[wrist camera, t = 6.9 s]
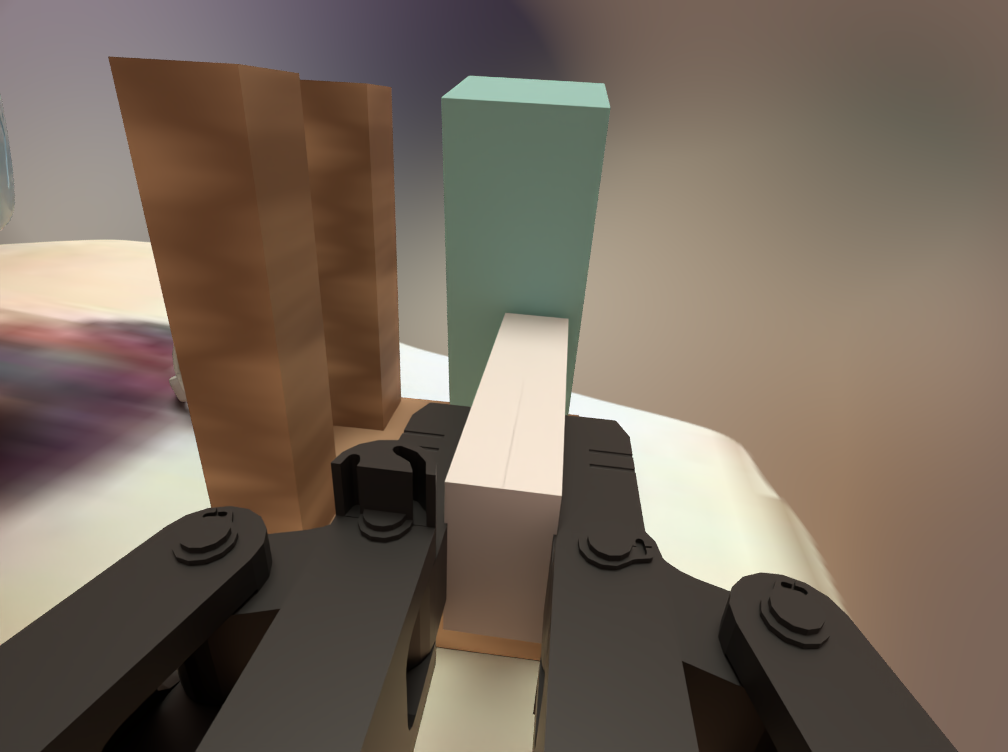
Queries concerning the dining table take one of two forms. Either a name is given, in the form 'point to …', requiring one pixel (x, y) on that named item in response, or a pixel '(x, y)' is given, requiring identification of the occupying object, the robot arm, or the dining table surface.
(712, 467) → the dining table surface
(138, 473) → the dining table surface
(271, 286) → the upturned wooden stool
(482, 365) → the hinged leg
